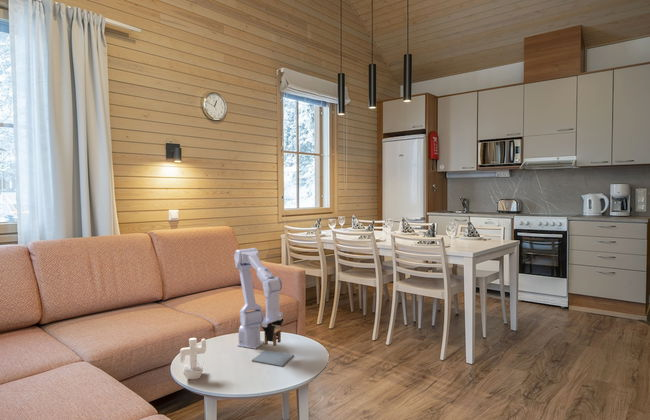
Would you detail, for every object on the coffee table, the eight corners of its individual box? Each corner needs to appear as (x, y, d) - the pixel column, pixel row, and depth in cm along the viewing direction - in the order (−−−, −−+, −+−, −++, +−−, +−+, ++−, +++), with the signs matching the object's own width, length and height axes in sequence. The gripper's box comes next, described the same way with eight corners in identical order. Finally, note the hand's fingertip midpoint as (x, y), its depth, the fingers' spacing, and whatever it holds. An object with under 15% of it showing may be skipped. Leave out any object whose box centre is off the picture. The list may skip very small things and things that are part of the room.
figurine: (181, 373, 163) (180, 336, 161) (206, 370, 165) (205, 333, 164) (180, 382, 156) (178, 343, 154) (206, 379, 158) (205, 340, 157)
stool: (264, 344, 174) (264, 327, 174) (270, 340, 179) (270, 324, 178) (275, 346, 172) (275, 329, 172) (280, 342, 177) (280, 325, 177)
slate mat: (251, 361, 173) (251, 360, 173) (264, 351, 184) (264, 350, 184) (282, 366, 168) (282, 365, 168) (293, 356, 179) (293, 354, 179)
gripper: (272, 312, 166) (273, 346, 167) (288, 302, 180) (289, 333, 181) (257, 310, 169) (257, 343, 170) (274, 301, 182) (274, 331, 183)
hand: (272, 338), depth 175 cm, fingers closed on stool, 5 cm apart
